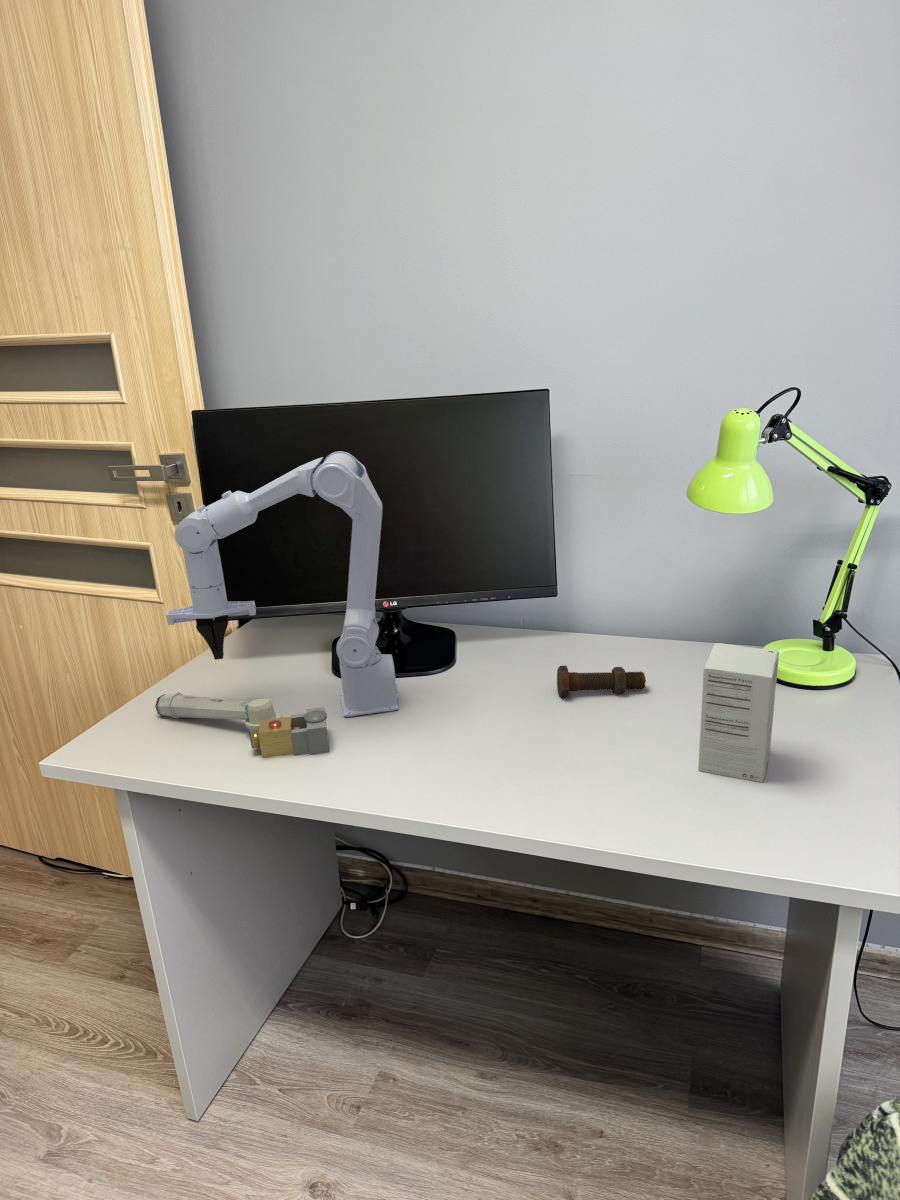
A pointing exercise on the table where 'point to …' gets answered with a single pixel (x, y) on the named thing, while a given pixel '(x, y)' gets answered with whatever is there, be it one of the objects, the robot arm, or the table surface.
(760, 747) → the supplement box
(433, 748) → the table surface
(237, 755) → the table surface
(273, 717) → the toothbrush head
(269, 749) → the valve
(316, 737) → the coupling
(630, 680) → the bolt
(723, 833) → the table surface
